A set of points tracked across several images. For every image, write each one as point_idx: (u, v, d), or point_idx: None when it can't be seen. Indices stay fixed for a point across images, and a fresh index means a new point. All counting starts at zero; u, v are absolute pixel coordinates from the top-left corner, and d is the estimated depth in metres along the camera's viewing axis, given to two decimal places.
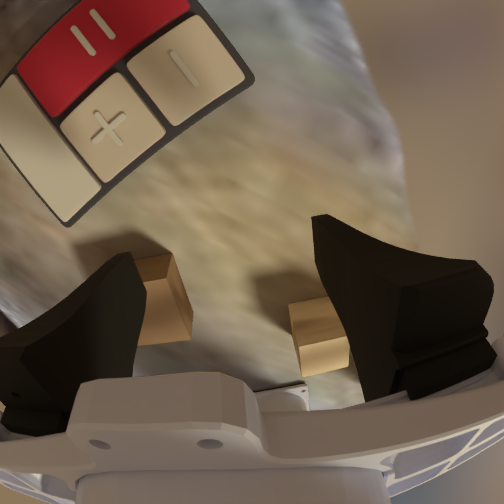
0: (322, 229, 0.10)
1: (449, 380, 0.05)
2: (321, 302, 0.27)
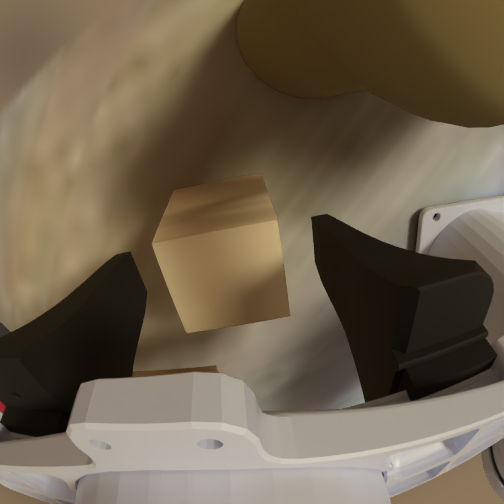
0: (322, 229, 0.10)
1: (449, 380, 0.05)
2: None
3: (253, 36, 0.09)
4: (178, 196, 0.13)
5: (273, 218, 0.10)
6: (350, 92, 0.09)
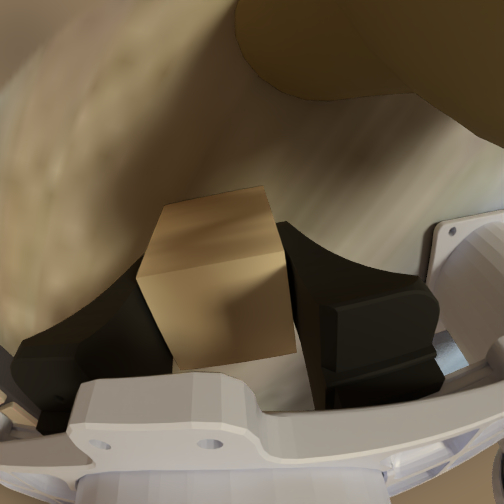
0: None
1: (385, 403, 0.05)
2: None
3: (255, 27, 0.07)
4: (169, 214, 0.12)
5: (279, 248, 0.08)
6: None
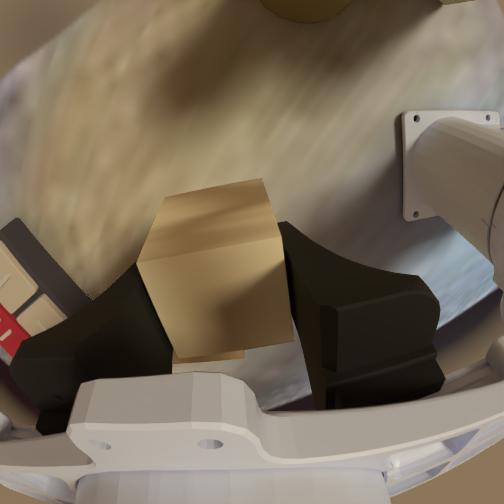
0: None
1: (386, 403, 0.05)
2: None
3: None
4: (169, 205, 0.12)
5: (277, 234, 0.08)
6: (331, 2, 0.11)
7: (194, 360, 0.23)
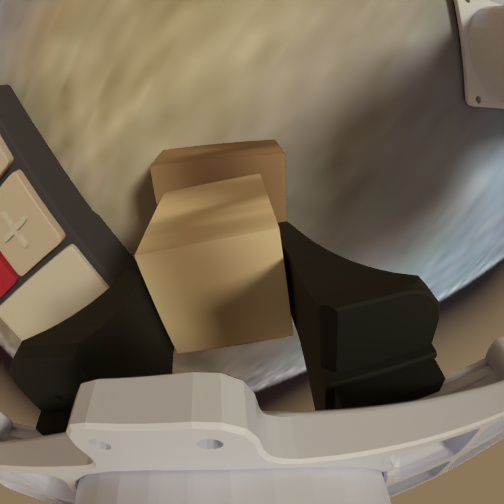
0: None
1: (385, 403, 0.05)
2: None
3: None
4: (168, 200, 0.12)
5: (274, 226, 0.08)
6: None
7: None
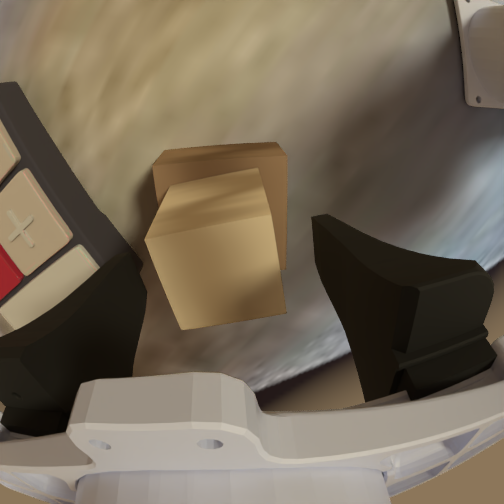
0: (322, 229, 0.10)
1: (449, 380, 0.05)
2: None
3: None
4: (174, 192, 0.13)
5: (267, 213, 0.10)
6: None
7: None
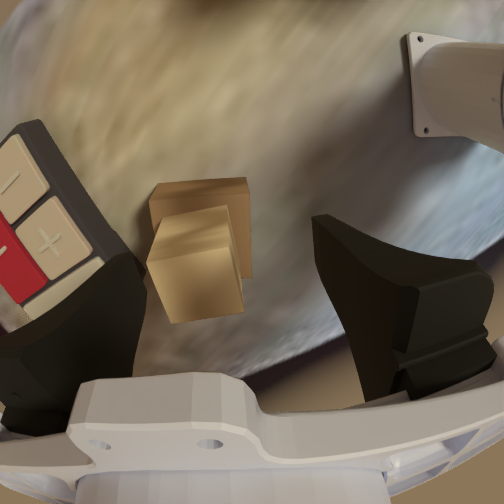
0: (322, 229, 0.10)
1: (449, 380, 0.05)
2: None
3: None
4: (165, 224, 0.18)
5: (226, 245, 0.15)
6: None
7: None
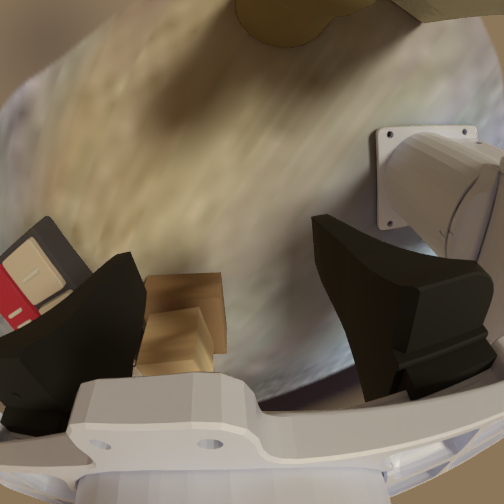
0: (322, 229, 0.10)
1: (449, 380, 0.05)
2: None
3: (244, 4, 0.13)
4: (151, 323, 0.22)
5: (192, 357, 0.19)
6: (302, 32, 0.13)
7: None
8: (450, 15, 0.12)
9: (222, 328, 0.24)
